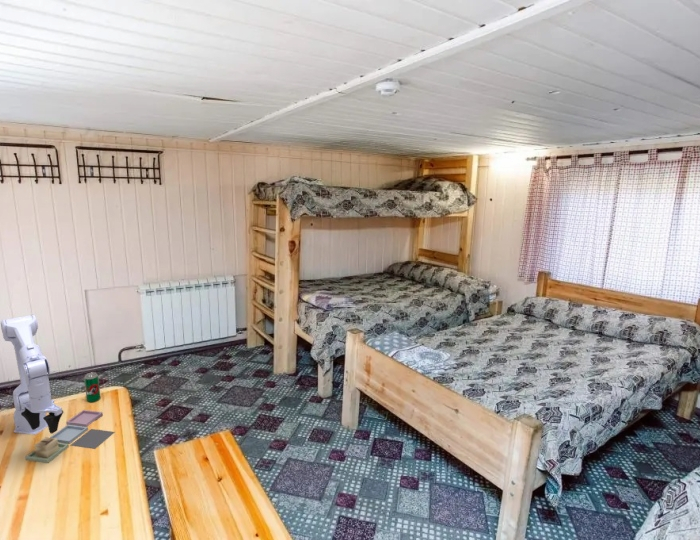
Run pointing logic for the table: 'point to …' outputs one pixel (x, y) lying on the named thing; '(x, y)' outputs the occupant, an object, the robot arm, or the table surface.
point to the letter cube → (46, 447)
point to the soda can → (92, 387)
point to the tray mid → (69, 433)
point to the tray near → (46, 460)
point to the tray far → (84, 418)
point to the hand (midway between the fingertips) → (44, 429)
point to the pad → (92, 439)
